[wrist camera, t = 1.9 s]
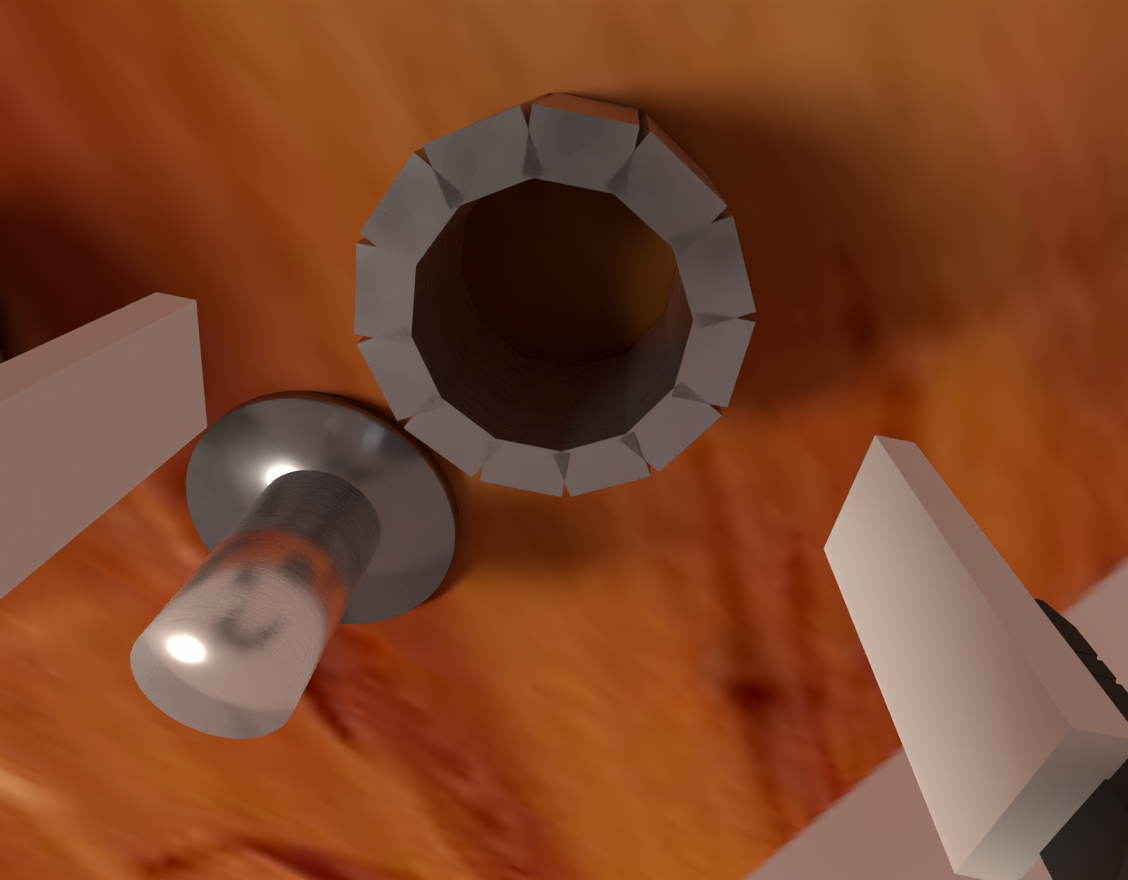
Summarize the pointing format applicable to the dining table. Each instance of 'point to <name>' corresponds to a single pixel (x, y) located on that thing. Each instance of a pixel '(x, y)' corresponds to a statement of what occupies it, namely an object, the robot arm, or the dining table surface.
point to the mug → (0, 358)
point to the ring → (532, 387)
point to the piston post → (292, 555)
